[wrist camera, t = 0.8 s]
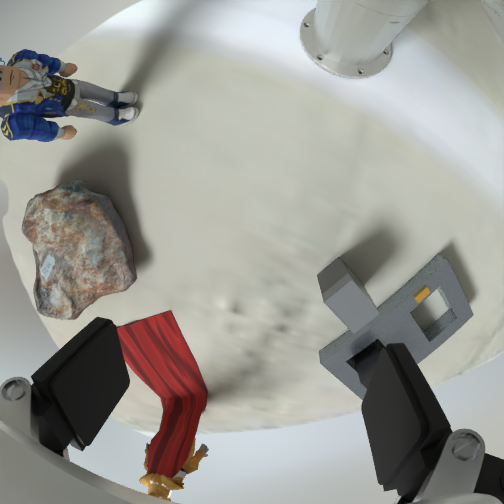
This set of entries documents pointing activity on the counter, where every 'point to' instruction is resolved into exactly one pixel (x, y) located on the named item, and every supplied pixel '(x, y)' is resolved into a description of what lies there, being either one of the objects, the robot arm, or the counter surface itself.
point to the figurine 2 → (167, 399)
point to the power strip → (399, 327)
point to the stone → (76, 249)
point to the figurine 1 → (54, 99)
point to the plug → (346, 296)
